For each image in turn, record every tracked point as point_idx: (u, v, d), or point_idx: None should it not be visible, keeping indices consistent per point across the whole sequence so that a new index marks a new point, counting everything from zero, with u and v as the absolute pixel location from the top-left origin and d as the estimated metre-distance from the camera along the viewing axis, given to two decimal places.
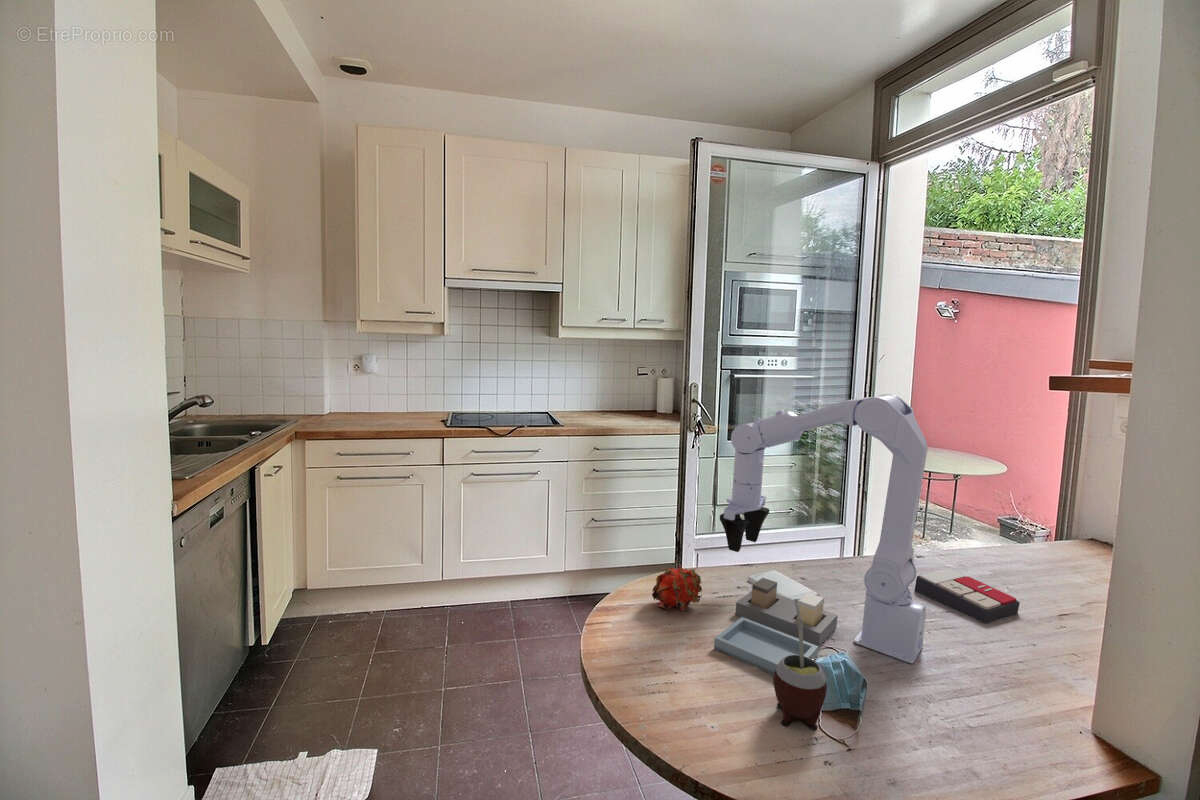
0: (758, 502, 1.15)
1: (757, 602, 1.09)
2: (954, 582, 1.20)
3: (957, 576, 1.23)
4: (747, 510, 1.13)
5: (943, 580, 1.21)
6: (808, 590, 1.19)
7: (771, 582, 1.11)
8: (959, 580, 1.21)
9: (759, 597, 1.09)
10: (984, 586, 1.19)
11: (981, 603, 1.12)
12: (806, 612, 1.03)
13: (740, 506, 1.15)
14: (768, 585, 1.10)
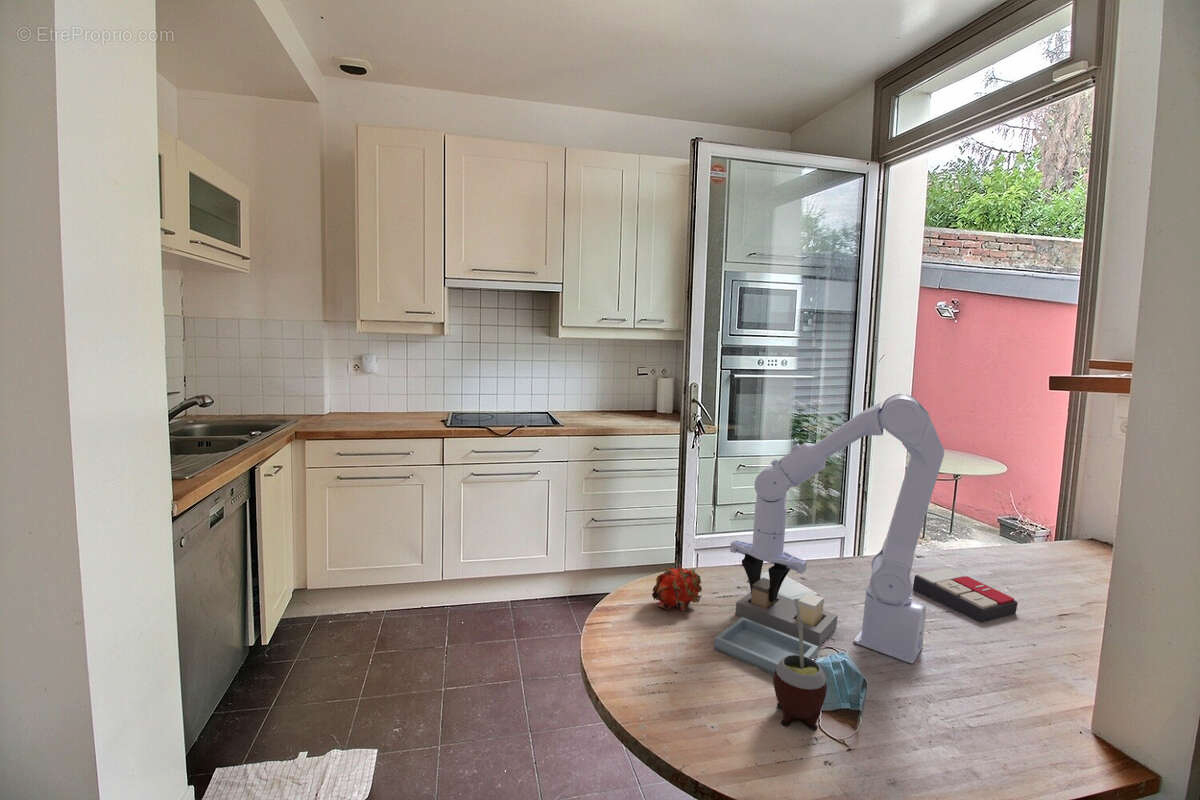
0: (760, 551, 1.07)
1: (757, 602, 1.09)
2: (952, 582, 1.20)
3: (956, 576, 1.23)
4: (746, 551, 1.10)
5: (941, 579, 1.21)
6: (808, 590, 1.19)
7: None
8: (957, 580, 1.21)
9: (759, 597, 1.09)
10: (982, 586, 1.19)
11: (977, 602, 1.12)
12: (806, 612, 1.03)
13: (752, 548, 1.11)
14: (768, 585, 1.09)
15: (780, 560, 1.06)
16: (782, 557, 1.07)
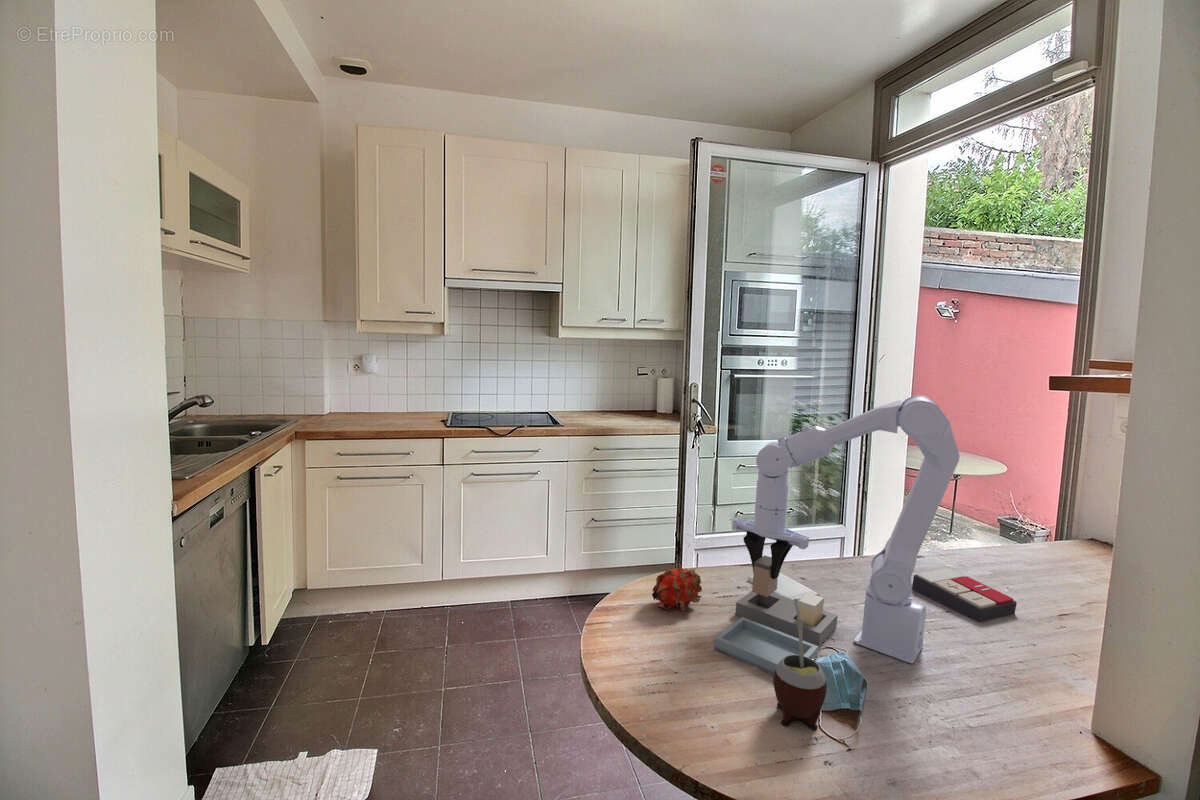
0: (761, 528, 1.07)
1: (759, 579, 1.08)
2: (951, 581, 1.20)
3: (955, 576, 1.23)
4: (748, 528, 1.10)
5: (940, 579, 1.21)
6: (808, 590, 1.19)
7: None
8: (957, 579, 1.21)
9: (761, 574, 1.08)
10: (981, 586, 1.19)
11: (976, 602, 1.12)
12: (806, 612, 1.03)
13: (753, 525, 1.11)
14: (770, 562, 1.09)
15: (782, 536, 1.05)
16: (784, 533, 1.07)
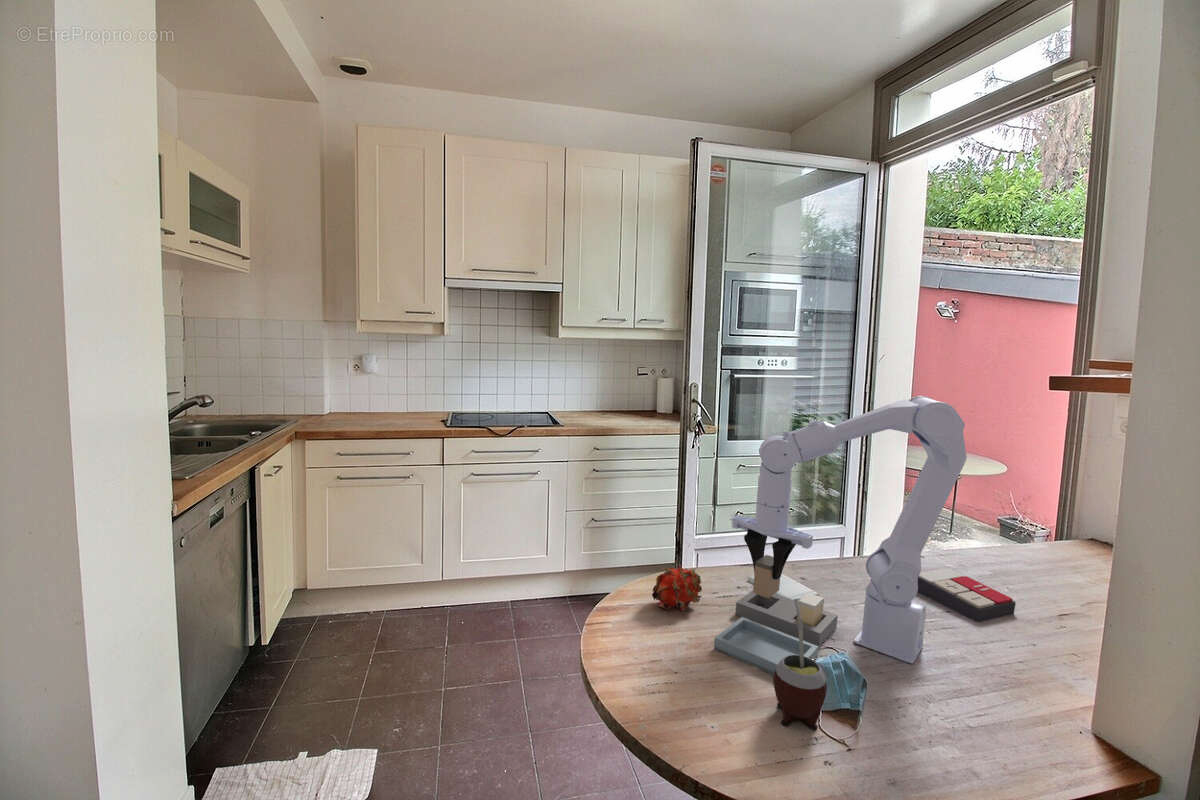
0: (763, 525, 1.02)
1: (760, 580, 1.04)
2: (950, 581, 1.20)
3: (955, 576, 1.23)
4: (749, 526, 1.04)
5: (939, 579, 1.22)
6: (808, 590, 1.19)
7: None
8: (956, 579, 1.21)
9: (762, 574, 1.03)
10: (981, 586, 1.19)
11: (974, 602, 1.12)
12: (806, 612, 1.03)
13: (755, 523, 1.05)
14: (772, 562, 1.04)
15: (784, 534, 1.00)
16: (787, 532, 1.02)
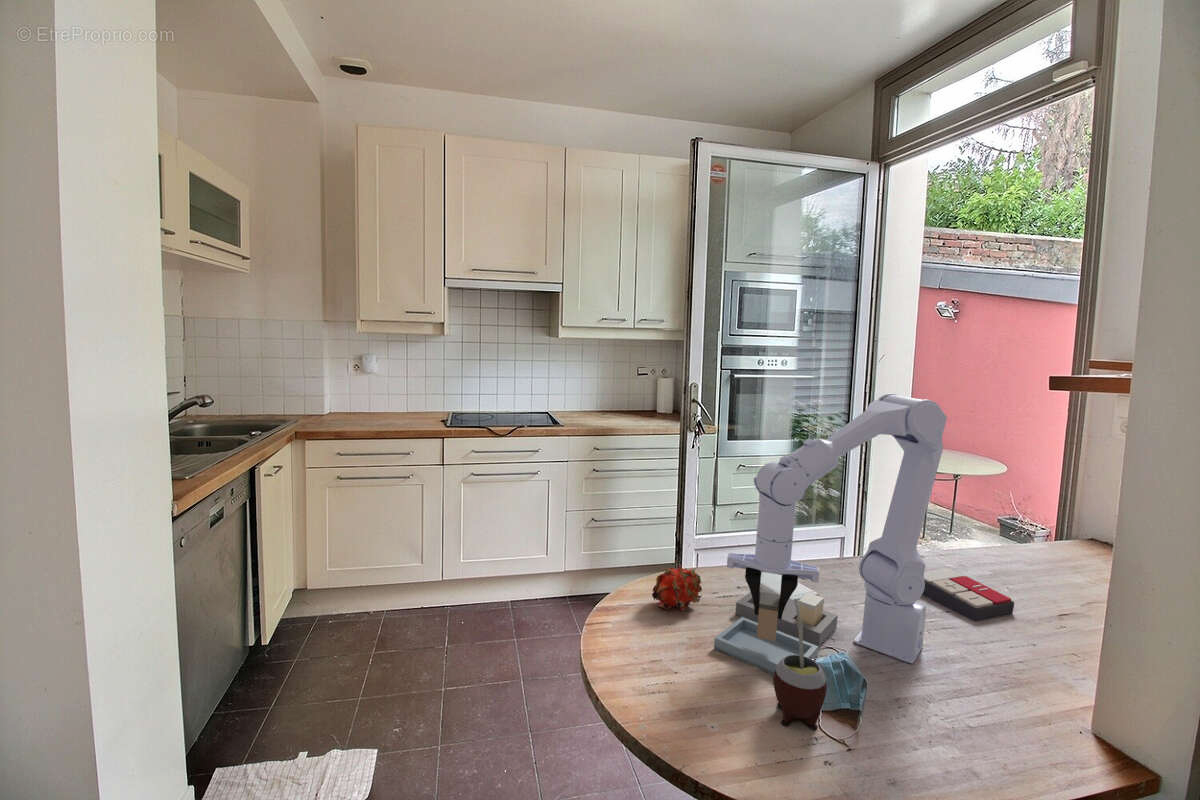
0: (770, 563, 0.92)
1: (766, 623, 0.94)
2: (949, 581, 1.20)
3: (954, 575, 1.24)
4: (750, 565, 0.94)
5: (938, 578, 1.22)
6: (808, 590, 1.19)
7: (773, 596, 0.97)
8: (955, 579, 1.21)
9: (768, 616, 0.94)
10: (980, 586, 1.19)
11: (972, 601, 1.12)
12: (806, 612, 1.03)
13: (753, 560, 0.96)
14: (774, 600, 0.95)
15: (794, 570, 0.92)
16: (792, 566, 0.94)
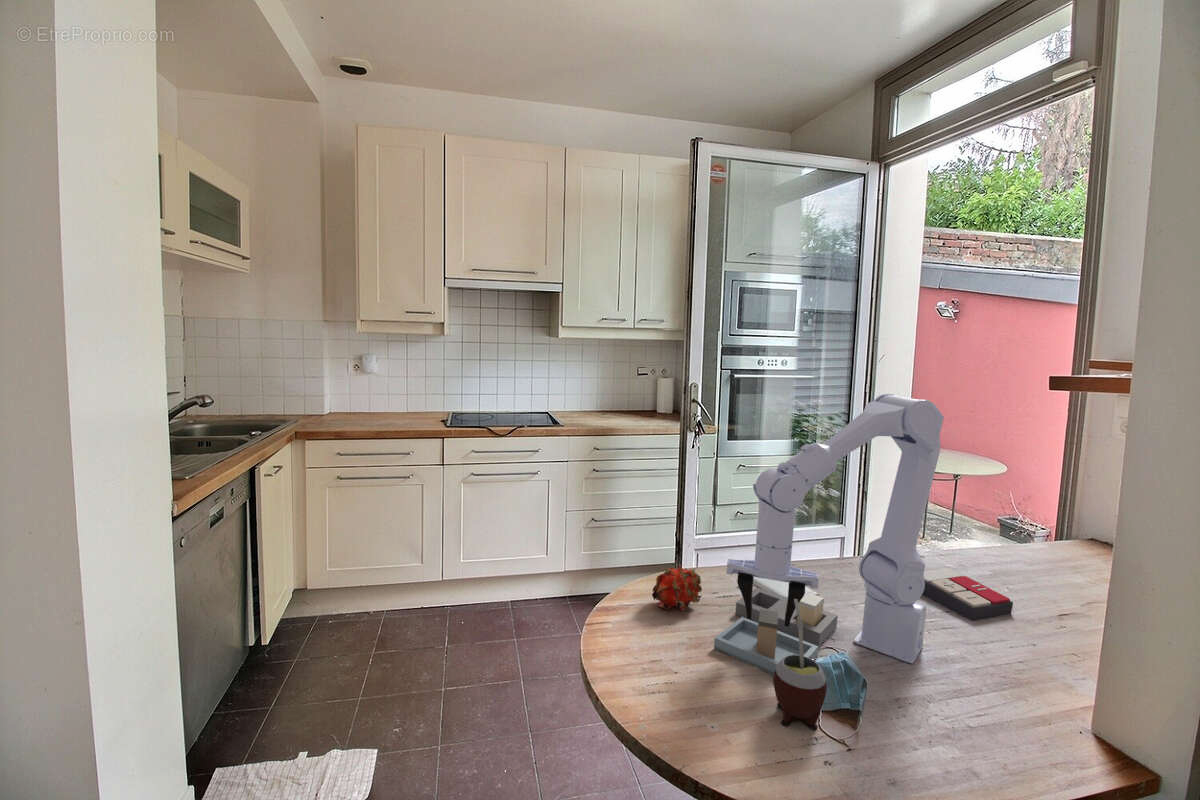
0: (770, 570, 0.92)
1: (765, 640, 0.95)
2: (948, 580, 1.21)
3: (954, 575, 1.24)
4: (750, 572, 0.94)
5: (937, 578, 1.22)
6: (808, 590, 1.19)
7: (773, 613, 0.97)
8: (954, 579, 1.21)
9: (767, 634, 0.94)
10: (979, 586, 1.19)
11: (969, 601, 1.12)
12: (806, 612, 1.03)
13: (753, 566, 0.96)
14: (773, 618, 0.96)
15: (793, 577, 0.92)
16: (791, 572, 0.94)
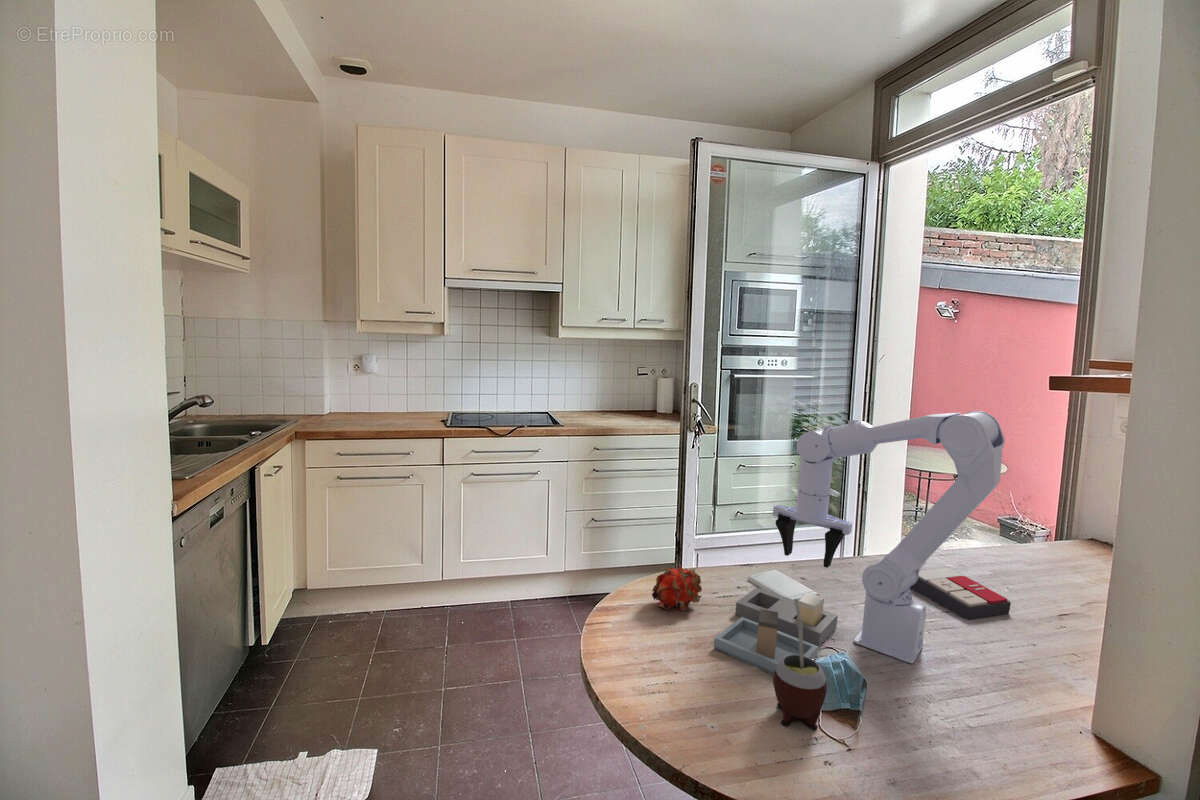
0: (805, 513, 1.08)
1: (765, 640, 0.95)
2: (946, 580, 1.21)
3: (952, 575, 1.24)
4: (790, 514, 1.11)
5: (935, 577, 1.22)
6: (808, 590, 1.19)
7: (773, 613, 0.97)
8: (952, 578, 1.22)
9: (767, 634, 0.94)
10: (977, 585, 1.19)
11: (965, 600, 1.13)
12: (806, 612, 1.03)
13: (795, 511, 1.12)
14: (773, 618, 0.96)
15: (826, 522, 1.06)
16: (827, 519, 1.08)
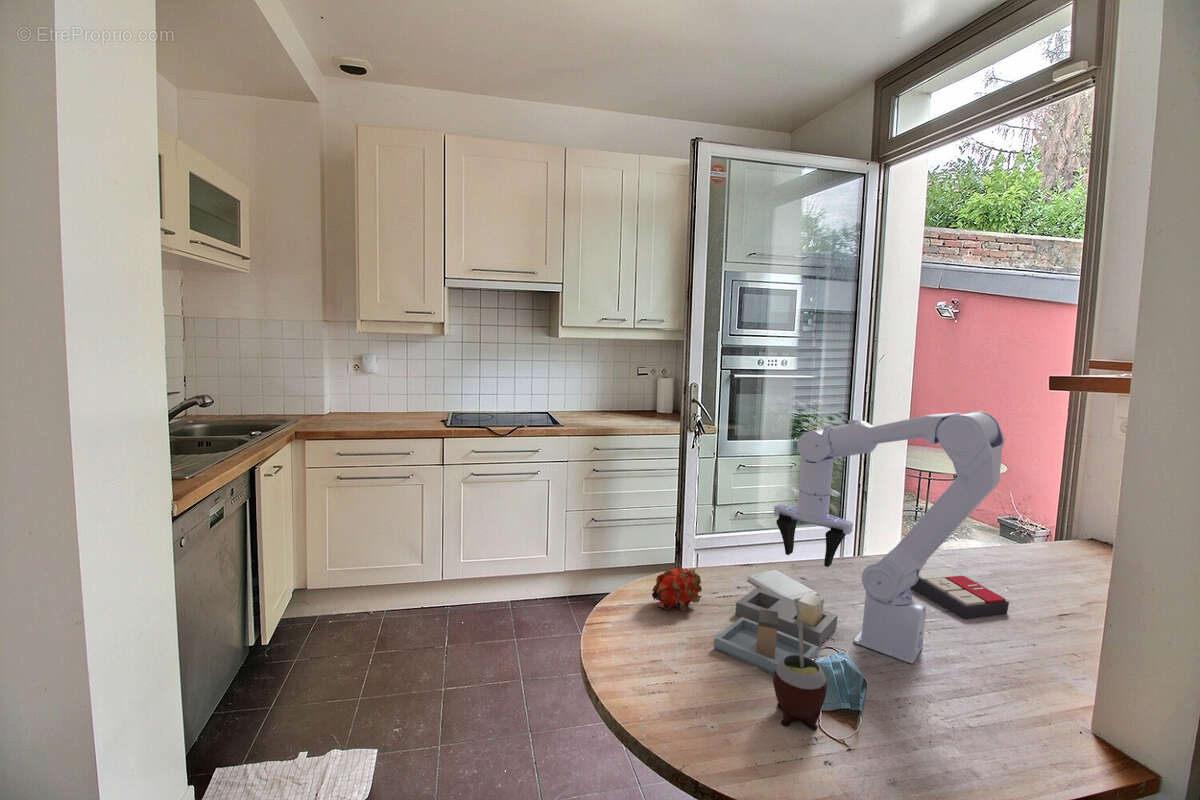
0: (805, 513, 1.08)
1: (765, 640, 0.95)
2: (944, 579, 1.21)
3: (952, 575, 1.24)
4: (791, 514, 1.11)
5: (934, 577, 1.22)
6: (808, 590, 1.19)
7: (773, 613, 0.97)
8: (951, 578, 1.22)
9: (767, 634, 0.94)
10: (975, 585, 1.19)
11: (963, 599, 1.13)
12: (806, 612, 1.03)
13: (796, 511, 1.12)
14: (773, 618, 0.96)
15: (826, 521, 1.07)
16: (828, 519, 1.08)
